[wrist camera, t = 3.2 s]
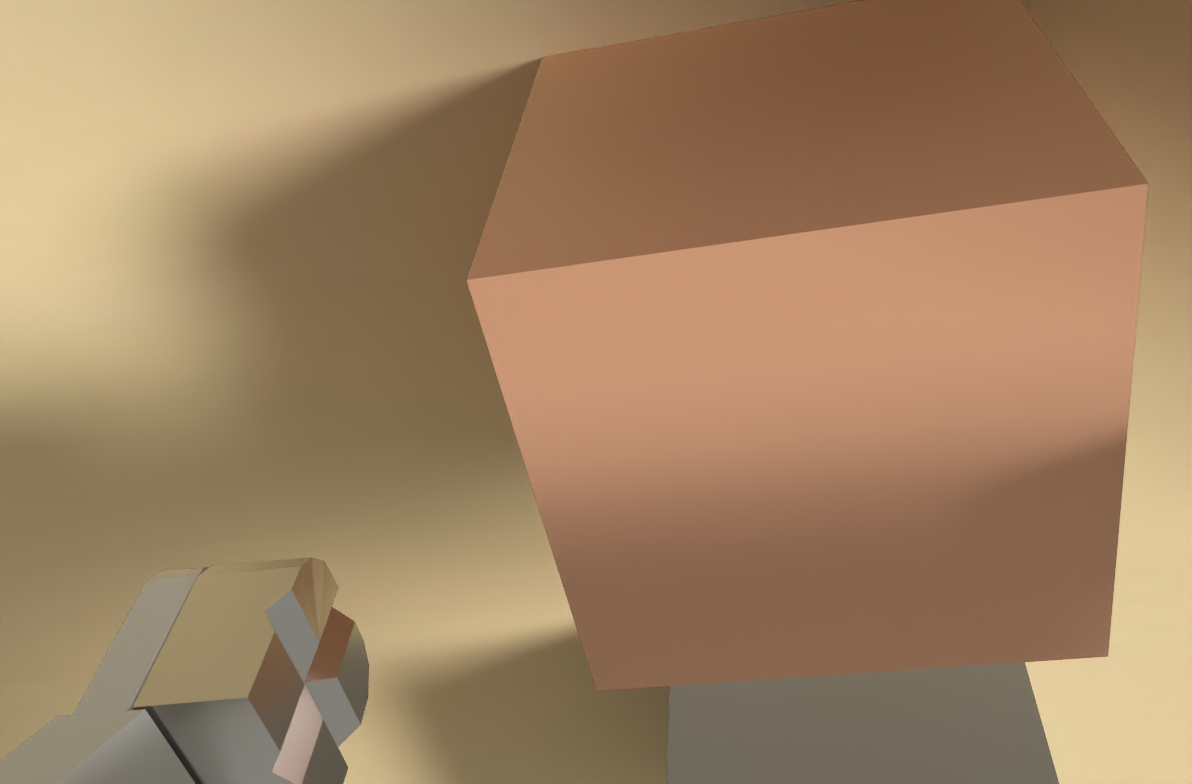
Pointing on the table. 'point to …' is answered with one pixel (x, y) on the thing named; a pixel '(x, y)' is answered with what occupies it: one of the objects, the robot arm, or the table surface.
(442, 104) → the table surface
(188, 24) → the table surface
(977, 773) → the slate block
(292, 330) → the table surface
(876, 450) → the terracotta block
